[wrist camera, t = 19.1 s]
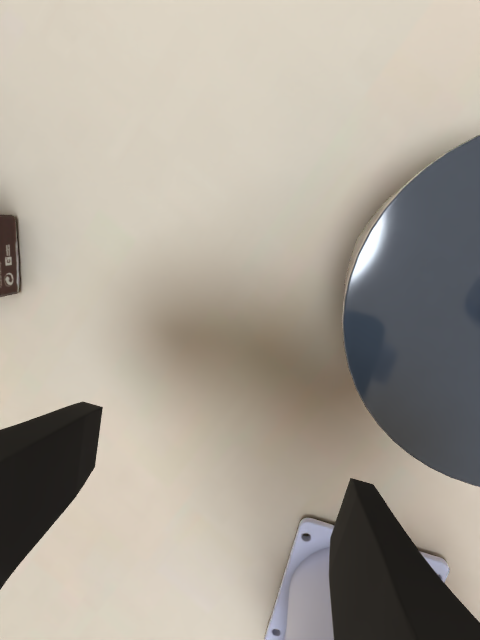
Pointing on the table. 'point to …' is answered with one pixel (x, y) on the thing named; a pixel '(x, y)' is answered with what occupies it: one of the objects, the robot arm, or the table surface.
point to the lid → (423, 316)
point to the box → (8, 256)
